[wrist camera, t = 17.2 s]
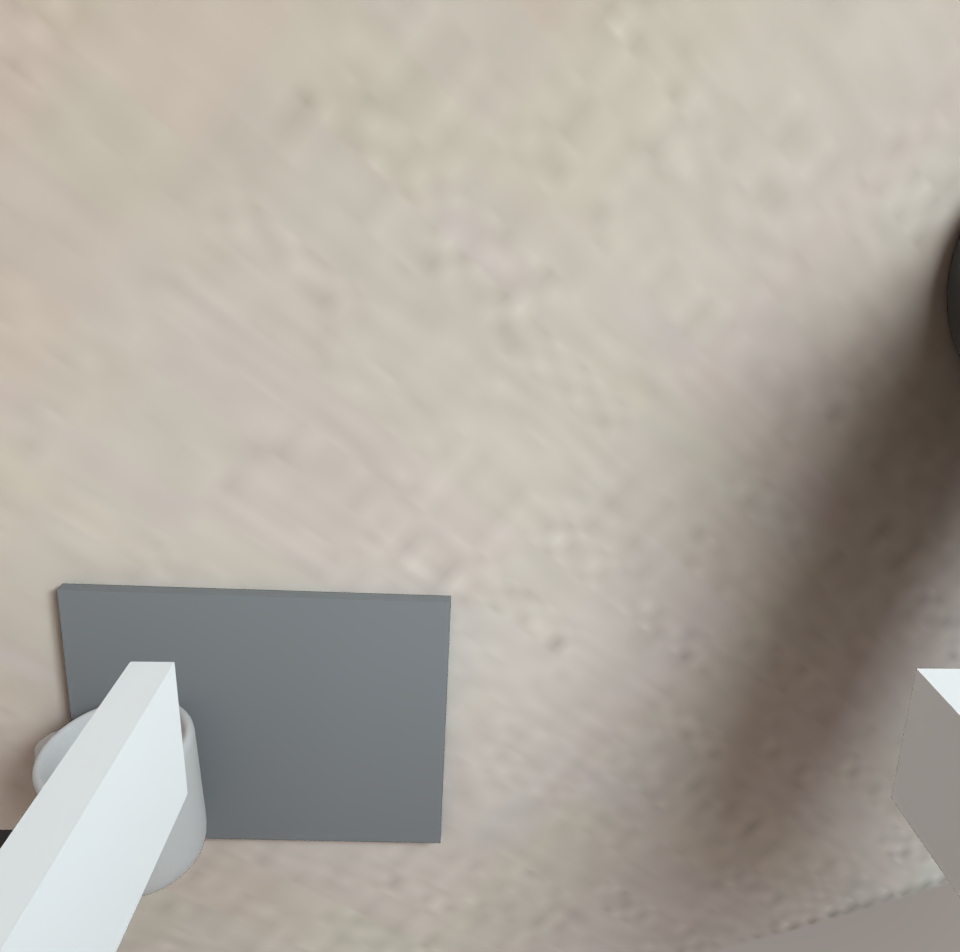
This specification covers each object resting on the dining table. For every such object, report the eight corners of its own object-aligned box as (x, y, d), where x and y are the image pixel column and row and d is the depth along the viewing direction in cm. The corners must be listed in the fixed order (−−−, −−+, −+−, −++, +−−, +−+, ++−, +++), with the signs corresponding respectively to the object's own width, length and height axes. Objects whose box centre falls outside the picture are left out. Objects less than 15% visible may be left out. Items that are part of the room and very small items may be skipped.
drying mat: (450, 595, 49) (450, 602, 48) (440, 833, 54) (440, 843, 54) (63, 583, 48) (56, 590, 48) (89, 826, 53) (84, 835, 53)
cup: (7, 870, 49) (-40, 758, 46) (120, 775, 56) (87, 670, 52) (145, 943, 44) (104, 822, 41) (252, 829, 51) (224, 717, 47)
